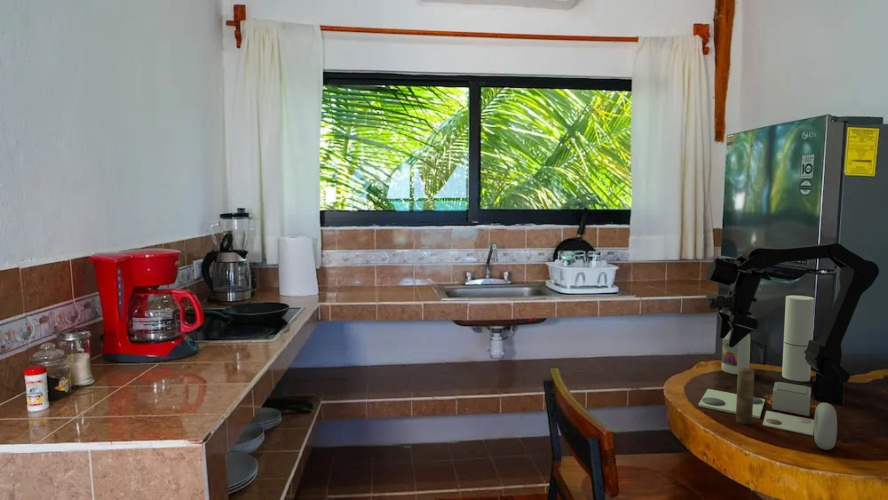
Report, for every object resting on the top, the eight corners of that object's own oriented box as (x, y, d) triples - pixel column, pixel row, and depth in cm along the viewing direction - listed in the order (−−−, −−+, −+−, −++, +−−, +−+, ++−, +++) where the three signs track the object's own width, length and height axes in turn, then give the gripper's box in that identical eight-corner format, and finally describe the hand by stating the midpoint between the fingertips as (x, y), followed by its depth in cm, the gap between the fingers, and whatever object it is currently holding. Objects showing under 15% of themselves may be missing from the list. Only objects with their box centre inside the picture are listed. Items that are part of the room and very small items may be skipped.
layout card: (813, 421, 128) (814, 419, 128) (813, 435, 120) (813, 434, 120) (766, 411, 134) (766, 410, 134) (762, 425, 126) (762, 423, 126)
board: (764, 401, 141) (764, 398, 141) (759, 418, 130) (759, 415, 130) (707, 390, 149) (707, 388, 149) (698, 406, 138) (698, 403, 138)
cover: (809, 406, 138) (811, 386, 137) (809, 416, 131) (810, 395, 131) (774, 399, 142) (775, 380, 142) (771, 408, 136) (772, 388, 135)
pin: (752, 420, 129) (755, 369, 128) (751, 425, 126) (753, 373, 125) (736, 417, 131) (738, 367, 130) (734, 422, 128) (736, 370, 127)
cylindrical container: (807, 375, 162) (811, 296, 160) (812, 382, 155) (816, 300, 153) (780, 372, 165) (784, 294, 163) (784, 379, 158) (788, 298, 156)
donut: (836, 459, 109) (839, 413, 108) (816, 455, 111) (819, 410, 110) (830, 440, 118) (833, 397, 117) (812, 437, 119) (814, 395, 118)
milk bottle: (742, 368, 170) (744, 307, 168) (753, 375, 162) (756, 312, 160) (717, 367, 170) (719, 307, 169) (727, 375, 163) (730, 312, 161)
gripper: (706, 277, 155) (689, 325, 158) (723, 288, 137) (703, 342, 140) (746, 287, 153) (728, 336, 156) (768, 300, 135) (747, 355, 138)
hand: (725, 342), depth 147 cm, fingers open, 9 cm apart
